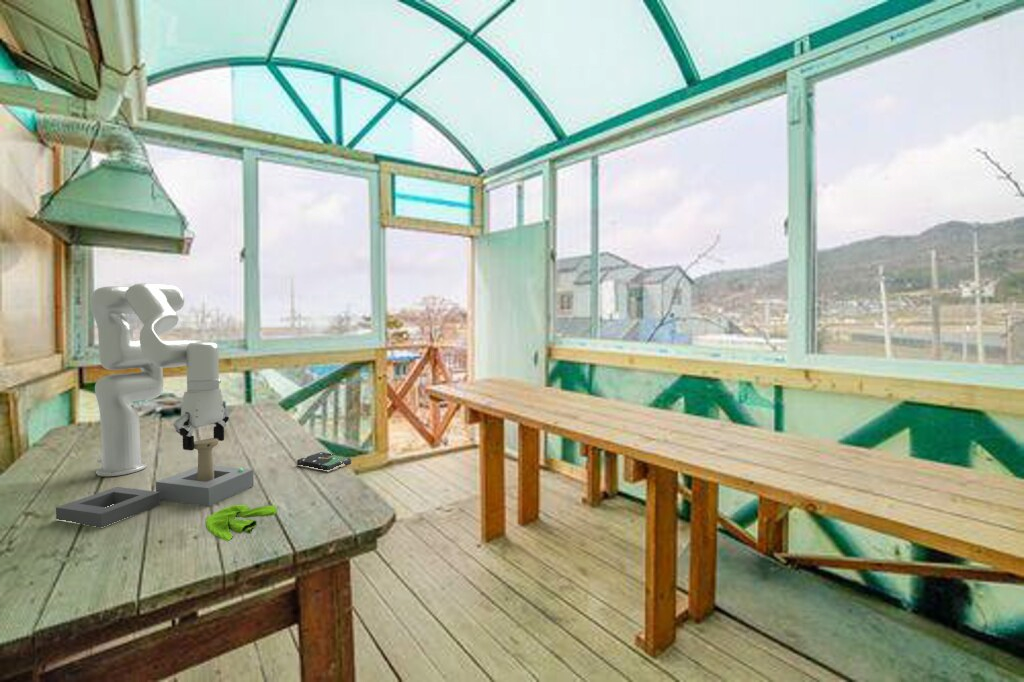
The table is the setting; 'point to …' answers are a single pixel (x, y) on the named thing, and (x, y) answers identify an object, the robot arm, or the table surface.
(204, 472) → the handle
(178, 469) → the table surface
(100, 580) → the table surface
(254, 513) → the cloth
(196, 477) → the port block
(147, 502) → the grey square frame
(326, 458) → the disk drive
